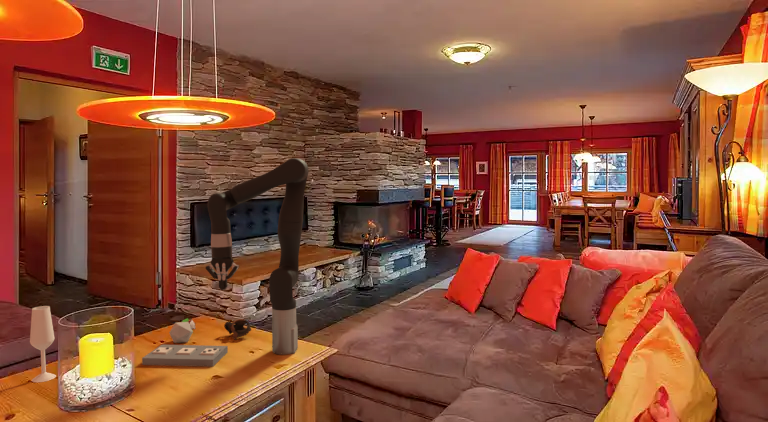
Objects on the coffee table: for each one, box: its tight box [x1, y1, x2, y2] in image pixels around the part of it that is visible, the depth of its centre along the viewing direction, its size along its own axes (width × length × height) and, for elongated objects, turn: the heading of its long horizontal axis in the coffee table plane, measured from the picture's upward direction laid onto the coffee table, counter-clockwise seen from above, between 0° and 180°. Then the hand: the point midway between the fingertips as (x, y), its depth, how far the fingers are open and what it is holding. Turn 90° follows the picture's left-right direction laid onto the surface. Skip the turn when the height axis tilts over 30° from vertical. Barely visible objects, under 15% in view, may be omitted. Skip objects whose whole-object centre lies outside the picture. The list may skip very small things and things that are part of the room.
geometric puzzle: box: [181, 317, 197, 332], centre depth 207 cm, size 7×7×8 cm
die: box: [169, 321, 194, 344], centre depth 196 cm, size 8×9×10 cm
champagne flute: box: [29, 305, 57, 383], centre depth 159 cm, size 7×7×24 cm
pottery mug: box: [223, 318, 252, 341], centre depth 203 cm, size 12×10×8 cm
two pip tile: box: [153, 346, 173, 354], centre depth 179 cm, size 5×5×3 cm
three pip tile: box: [201, 348, 219, 355], centre depth 178 cm, size 5×5×3 cm
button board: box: [141, 344, 229, 367], centre depth 178 cm, size 26×14×2 cm, turn 88°
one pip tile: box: [177, 348, 196, 355], centre depth 178 cm, size 5×5×3 cm
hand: (223, 289), depth 184 cm, fingers closed
